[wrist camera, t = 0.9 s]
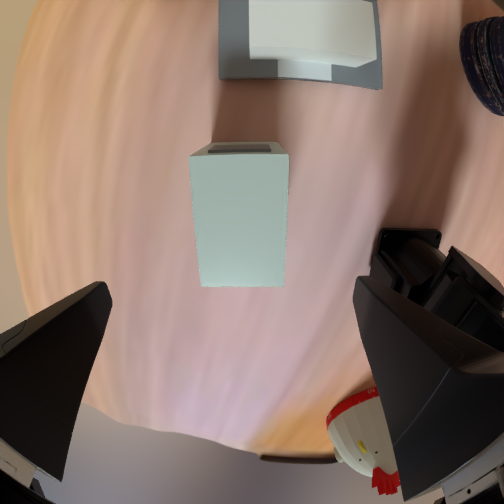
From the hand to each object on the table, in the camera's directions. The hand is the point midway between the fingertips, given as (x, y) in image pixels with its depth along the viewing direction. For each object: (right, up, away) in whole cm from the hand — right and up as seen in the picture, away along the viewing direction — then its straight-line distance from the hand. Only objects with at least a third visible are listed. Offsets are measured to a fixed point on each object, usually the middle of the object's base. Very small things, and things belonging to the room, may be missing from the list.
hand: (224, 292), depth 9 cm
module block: (0, +6, +11) cm, 12 cm away
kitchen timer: (+19, -22, +25) cm, 39 cm away
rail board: (+4, +22, +2) cm, 22 cm away
